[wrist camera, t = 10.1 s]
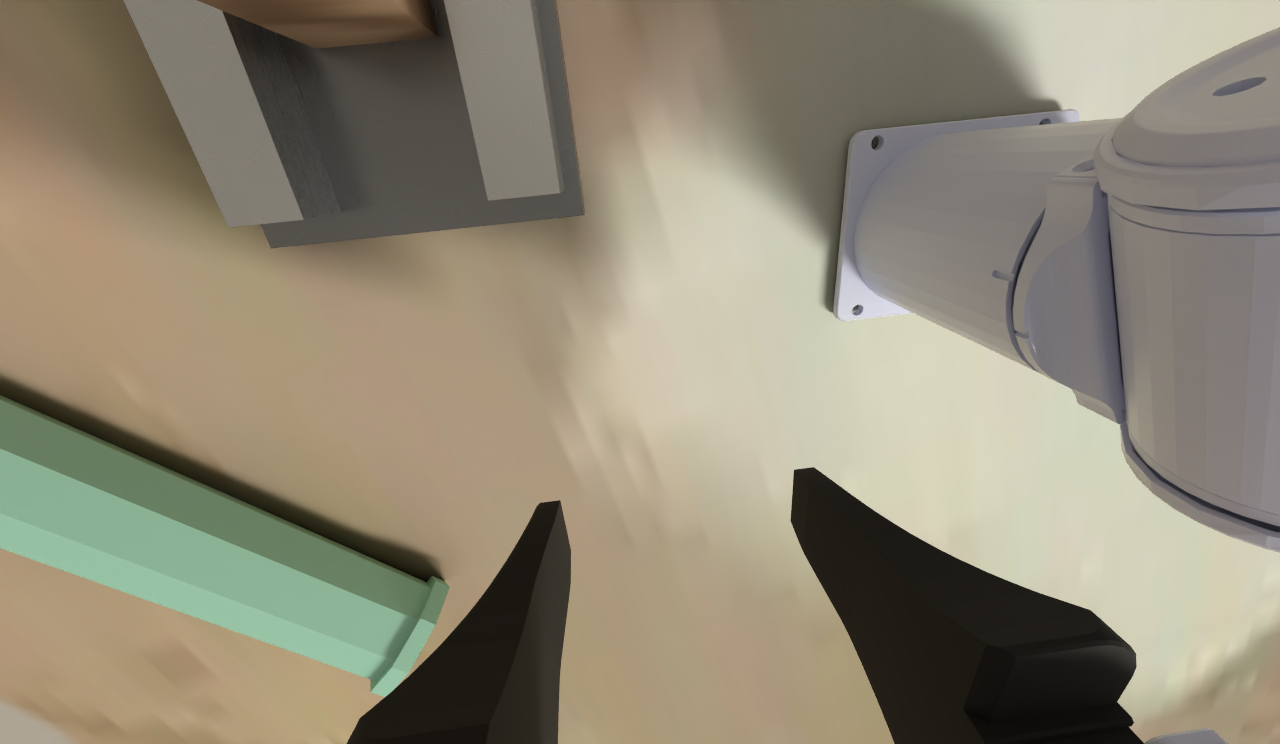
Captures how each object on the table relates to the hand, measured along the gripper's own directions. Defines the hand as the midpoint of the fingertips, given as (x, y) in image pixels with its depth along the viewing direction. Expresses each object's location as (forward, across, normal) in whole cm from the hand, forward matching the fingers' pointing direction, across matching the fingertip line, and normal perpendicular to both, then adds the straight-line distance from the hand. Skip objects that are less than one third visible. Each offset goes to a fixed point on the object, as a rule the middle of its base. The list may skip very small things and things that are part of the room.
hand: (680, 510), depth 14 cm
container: (+10, +23, +4) cm, 25 cm away
